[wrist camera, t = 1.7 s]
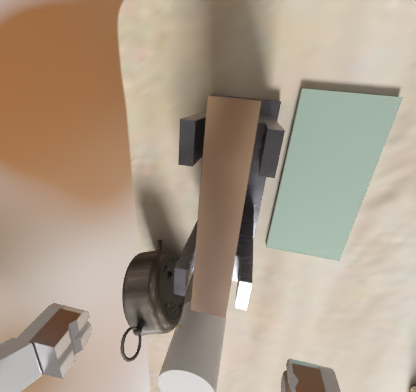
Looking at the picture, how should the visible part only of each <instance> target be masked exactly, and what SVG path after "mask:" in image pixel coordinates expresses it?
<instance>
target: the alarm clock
mask: <svg viewBox="0 0 416 392" xmlns="http://www.w3.org/2000/svg"><path fill="white" fill-rule="evenodd" d="M161 243H162V241H161V240H158V245H157V251H151V252H144V253H140V254H138V255H137V256H135V257H134V258H133V260H132V261H131V262H130V264H129V266H128V268H127V271H126V274H125V278H124V283H123V309H124V314H125V317H126V320H127V322H128V324H129V326H130V328H129V329H127V331H126V332H125V334H124V335H123V337H122V341H121V354H122V357H123V359H124V360H125V361H127V362H130V361H132V360H134V359H135V358H136V357H137V355H138V353H139V350H140V347H141V335H149V334H163V333H169V332H170V331H172V330H173V329H174V328H175V327H176V326H177V324H178V323H179V321H180V318H181V316H182V312H183V307H184V300H185V296H180V295H176V294H174V271H175V266H176V264H177V262H178V260H177V258H176V257H175V256H174V254H172V253H171V252H170V251H167V250H161ZM131 329H132V330H133V332H134V334H135V335H138V336H139V345H138V349H137V352H136V354H135V355H134V356H133V357H132V358H128V357H126V355H125V353H124V342H125V337H126V335H127V333H128V332H129V331H130V330H131Z"/></svg>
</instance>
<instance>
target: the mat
mask: <svg viewBox="0 0 416 392" xmlns="http://www.w3.org/2000/svg"><path fill="white" fill-rule="evenodd" d="M402 98H403V97H394V96H383V95H371V94H360V93H349V92H337V91H326V90H314V89H303V88H302V89H301V91H300V96H299V100H298V105H297V109H296V113H295V118H294V122H293V127H292V131H291V136H290V140H289V145H288V149H287V153H286V158H285V162H284V167H283V171H282V176H281V180H280V185H279V189H278V193H277V198H276V202H275V207H274V211H273V216H272V220H271V224H270V229H269V233H268V238H267V242H266V248H272V249H277V250H283V251H288V252H294V253H299V254H305V255H310V256H316V257H321V258H327V259H332V260H338V261H339V260H340V257H341V255H342V252H343V250H344V247H345V245H346V242H347V239H348V237H349V234H350V232H351V229H352V227H353V224H354V222H355V219H356V216H357V214H358V211H359V209H360V206H361V204H362V201H363V198H364V196H365V193H366V191H367V188H368V186H369V183H370V180H371V178H372V175H373V173H374V170H375V168H376V165H377V162H378V160H379V157H380V155H381V152H382V150H383V147H384V145H385V142H386V139H387V137H388V134H389V132H390V129H391V127H392V124H393V121H394V119H395V116H396V114H397V111H398V109H399V106H400V103H401V101H402Z"/></svg>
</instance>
